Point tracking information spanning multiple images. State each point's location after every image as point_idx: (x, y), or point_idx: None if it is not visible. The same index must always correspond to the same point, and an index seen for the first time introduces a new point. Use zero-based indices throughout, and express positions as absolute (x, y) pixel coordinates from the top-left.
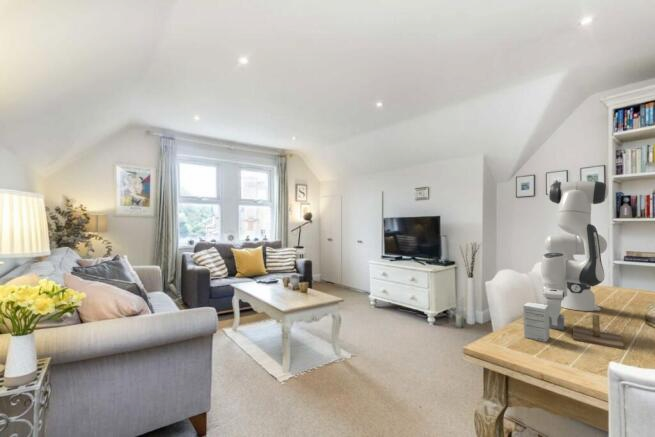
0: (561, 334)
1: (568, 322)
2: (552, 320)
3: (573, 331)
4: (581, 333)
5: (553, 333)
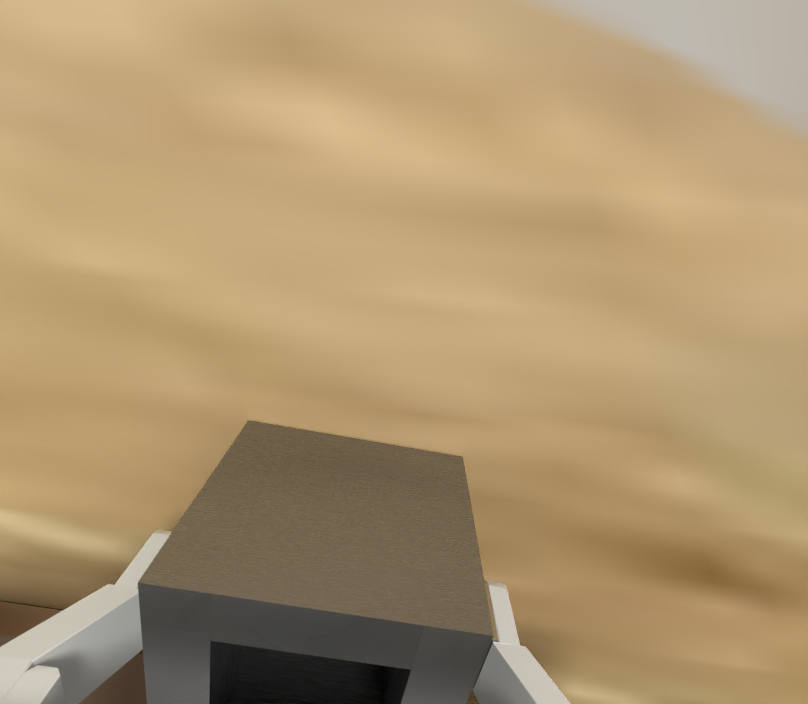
0: (40, 529)
1: (637, 659)
2: (93, 598)
3: (137, 655)
4: (114, 696)
5: (8, 460)
